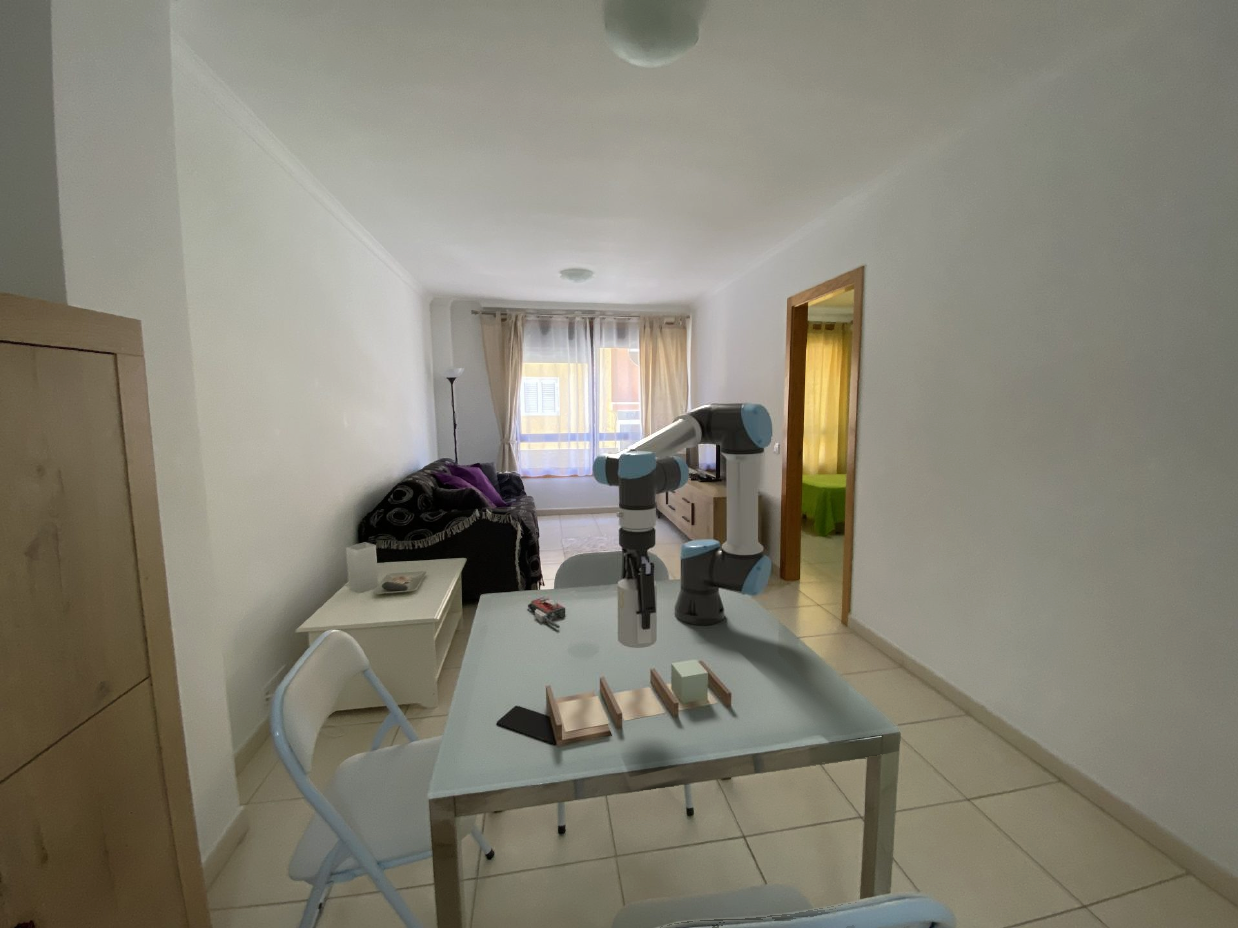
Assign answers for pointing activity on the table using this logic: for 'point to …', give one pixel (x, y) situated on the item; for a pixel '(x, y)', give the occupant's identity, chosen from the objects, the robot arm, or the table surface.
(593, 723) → the frame
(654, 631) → the white cylinder
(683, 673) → the sage block
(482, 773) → the table surface
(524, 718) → the smartphone
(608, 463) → the robot arm
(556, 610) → the walkie-talkie
